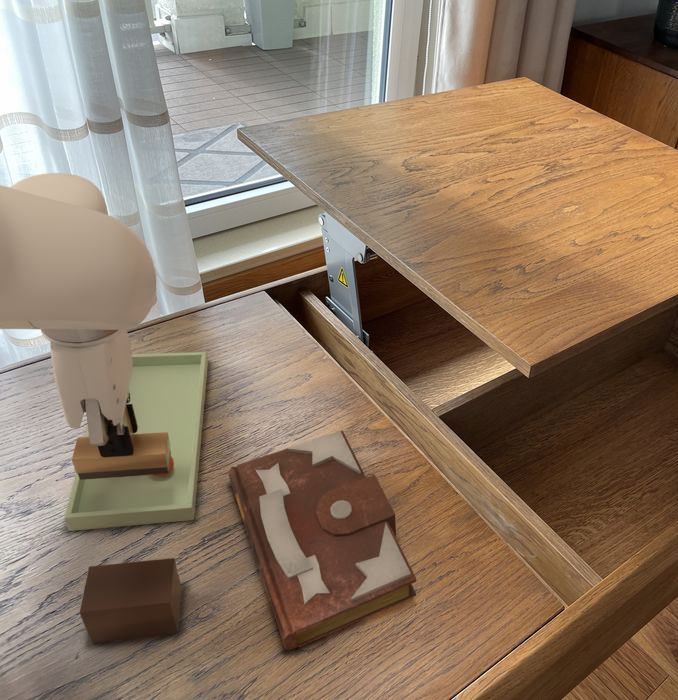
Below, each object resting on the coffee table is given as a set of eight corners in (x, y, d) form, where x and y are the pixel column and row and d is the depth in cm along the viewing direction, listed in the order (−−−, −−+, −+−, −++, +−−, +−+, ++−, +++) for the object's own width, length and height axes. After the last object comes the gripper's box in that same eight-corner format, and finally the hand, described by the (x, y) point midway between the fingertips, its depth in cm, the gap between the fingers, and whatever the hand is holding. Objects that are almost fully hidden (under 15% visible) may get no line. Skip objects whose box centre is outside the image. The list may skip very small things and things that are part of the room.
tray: (194, 520, 83) (191, 507, 82) (69, 531, 80) (64, 518, 78) (208, 364, 103) (206, 351, 101) (108, 368, 100) (104, 355, 98)
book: (232, 489, 88) (225, 464, 85) (351, 448, 94) (349, 423, 90) (287, 656, 73) (281, 633, 70) (424, 595, 79) (425, 572, 76)
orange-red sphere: (174, 480, 86) (170, 464, 84) (147, 482, 85) (143, 466, 84) (176, 461, 88) (173, 445, 86) (150, 463, 88) (146, 447, 86)
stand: (177, 633, 73) (169, 602, 69) (92, 644, 71) (78, 612, 67) (182, 589, 76) (174, 557, 73) (100, 598, 75) (88, 566, 71)
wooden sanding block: (169, 474, 79) (156, 415, 73) (78, 480, 77) (57, 420, 71) (172, 452, 82) (159, 393, 76) (84, 458, 80) (64, 398, 73)
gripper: (56, 258, 70) (95, 392, 82) (14, 371, 58) (66, 507, 70) (138, 258, 72) (165, 389, 84) (114, 367, 60) (148, 500, 72)
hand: (119, 442), depth 77 cm, fingers closed on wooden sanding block, 2 cm apart
